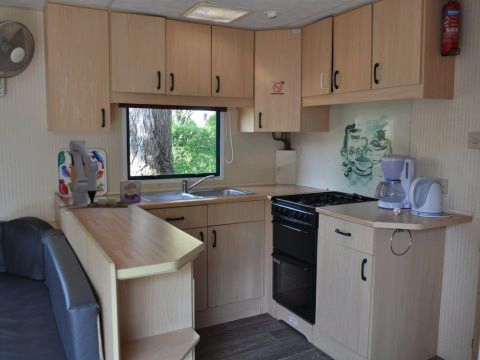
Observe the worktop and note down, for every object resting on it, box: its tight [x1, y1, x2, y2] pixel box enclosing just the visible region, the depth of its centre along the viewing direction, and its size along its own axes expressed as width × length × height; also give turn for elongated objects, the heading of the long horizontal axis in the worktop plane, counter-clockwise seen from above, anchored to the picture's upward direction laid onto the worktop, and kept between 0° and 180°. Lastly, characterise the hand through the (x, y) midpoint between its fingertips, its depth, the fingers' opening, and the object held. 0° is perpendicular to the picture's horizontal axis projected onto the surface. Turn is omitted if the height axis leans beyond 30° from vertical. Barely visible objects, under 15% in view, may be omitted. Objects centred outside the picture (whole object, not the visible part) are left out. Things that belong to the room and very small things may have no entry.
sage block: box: [107, 197, 117, 204], centre depth 282 cm, size 5×6×5 cm
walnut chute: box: [86, 201, 130, 208], centre depth 282 cm, size 25×13×3 cm, turn 100°
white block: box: [97, 197, 108, 204], centre depth 281 cm, size 5×6×5 cm
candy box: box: [119, 179, 142, 203], centre depth 301 cm, size 14×6×16 cm, turn 105°
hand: (92, 202), depth 280 cm, fingers closed
